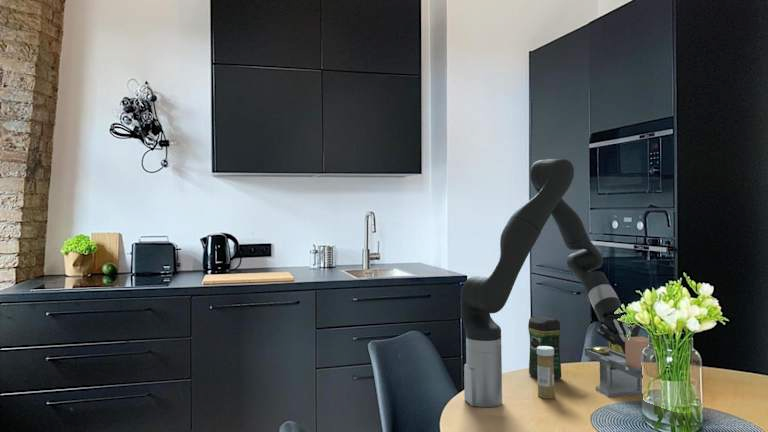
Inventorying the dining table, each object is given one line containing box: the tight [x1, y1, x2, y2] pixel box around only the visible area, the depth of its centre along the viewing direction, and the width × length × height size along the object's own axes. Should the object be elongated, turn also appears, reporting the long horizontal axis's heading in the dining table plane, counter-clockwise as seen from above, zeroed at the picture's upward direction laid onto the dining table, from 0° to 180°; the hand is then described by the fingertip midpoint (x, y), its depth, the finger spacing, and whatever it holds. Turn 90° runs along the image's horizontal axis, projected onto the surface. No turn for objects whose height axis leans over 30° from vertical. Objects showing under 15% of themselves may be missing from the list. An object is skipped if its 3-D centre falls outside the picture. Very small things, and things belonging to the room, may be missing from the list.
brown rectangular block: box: [625, 336, 650, 369], centre depth 148 cm, size 5×6×8 cm
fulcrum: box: [595, 357, 643, 398], centre depth 156 cm, size 12×6×10 cm, turn 100°
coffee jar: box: [527, 315, 562, 382], centre depth 172 cm, size 10×8×19 cm
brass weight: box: [592, 346, 609, 355], centre depth 166 cm, size 4×4×2 cm
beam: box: [584, 346, 644, 379], centre depth 156 cm, size 8×26×2 cm, turn 10°
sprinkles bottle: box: [537, 346, 556, 400], centre depth 154 cm, size 5×5×14 cm
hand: (632, 356), depth 151 cm, fingers closed
